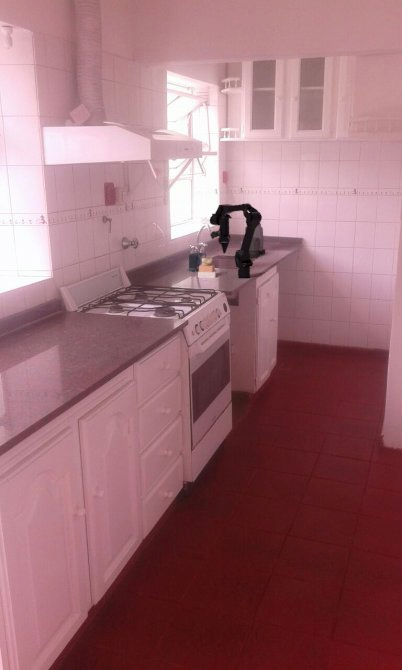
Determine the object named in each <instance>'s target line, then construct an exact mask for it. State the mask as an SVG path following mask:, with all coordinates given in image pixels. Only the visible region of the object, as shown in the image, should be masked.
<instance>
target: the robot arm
mask: <svg viewBox="0 0 402 670" xmlns="http://www.w3.org/2000/svg"><path fill="white" fill-rule="evenodd" d="M235 212H243V213H242V214H243V216H244V218H245V223H246V224H245V225H246V226H247V228H246V231H245V230H244V234H243V239H242V241H243V242H242V245H241V244H240V248H239V249H236V250H235V254H234V255H233V256H234V262H235V263H234V264H235V266H236V268H238V269H237V277H238V278H239V279H250V278H251V267H253V265H254V263H253V261H252V258H250V253H249V249H250V245H251V242H252V238H253V235H254V232H255V229H256V227H257V226H258V225H259V224H261V222H262V218H263V216H262V214H261V212H260V211H259V210H258V209H257V208H255V207H254V206H252V205H251V204H250V203H248V202H247V203H241V204H235V205H234V204H229V203H225V204H218V206H217V209H216V211H215V213H211V216H210V218H209V223H210V224H211V225H212V226H219V228H218V230H213V231H211V232H210V233H209V235H210V237H211V238H210V239H211V240H213V239H216V238H217V237H218V238H217V240H218V241H217V242H218V243H219V245H221V249H222V253H223V255H224V254H226V253H227V249H228V247H229V244H230V241H231V234H230V219H232V216H231V215H230V214H232V213H235Z"/></svg>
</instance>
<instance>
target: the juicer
mask: <svg viewBox="0 0 402 670" xmlns="http://www.w3.org/2000/svg"><path fill="white" fill-rule="evenodd" d="M246 228H247V225H246V226H245V228H244V232H245V231H246ZM242 242H243V240H241V241H240V246H241V245H242ZM249 253H250V259H258V258H259V257H261V256H264V255H265V254H266V249H265V248H264V228H263V227H262V224H261V223H260V224H259V225H258V226H257V227H256V229H255V232H254V235H253V238H252V242H251V245H250V249H249Z"/></svg>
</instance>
